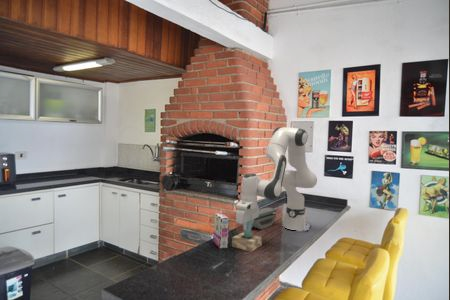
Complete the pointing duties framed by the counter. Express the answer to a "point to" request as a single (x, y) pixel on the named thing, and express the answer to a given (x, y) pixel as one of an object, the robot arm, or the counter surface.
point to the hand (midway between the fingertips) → (247, 228)
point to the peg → (248, 230)
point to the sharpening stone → (264, 218)
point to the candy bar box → (221, 230)
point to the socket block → (246, 242)
